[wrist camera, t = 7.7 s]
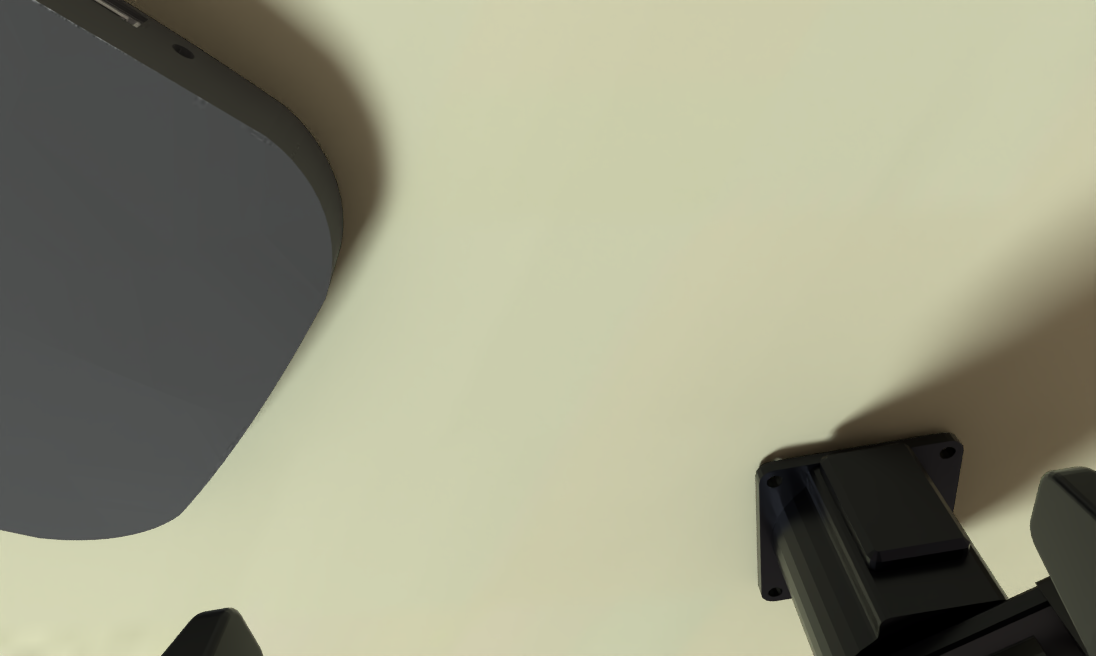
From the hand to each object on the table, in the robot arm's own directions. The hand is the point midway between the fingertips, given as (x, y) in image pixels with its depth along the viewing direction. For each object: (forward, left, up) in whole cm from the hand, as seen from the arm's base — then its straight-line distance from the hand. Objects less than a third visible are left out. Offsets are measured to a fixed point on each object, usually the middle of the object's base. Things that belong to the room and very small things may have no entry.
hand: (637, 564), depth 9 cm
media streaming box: (0, +14, -14) cm, 20 cm away
